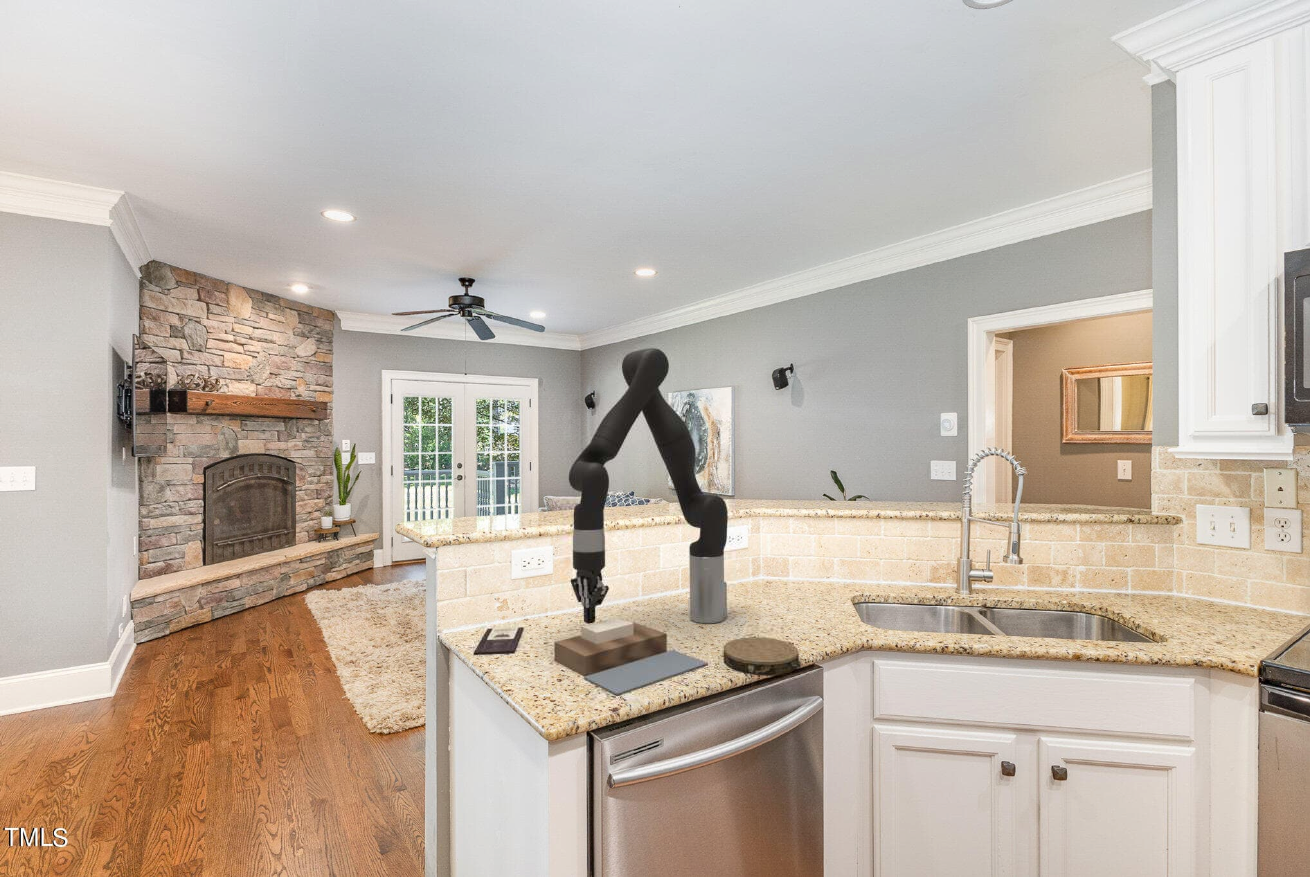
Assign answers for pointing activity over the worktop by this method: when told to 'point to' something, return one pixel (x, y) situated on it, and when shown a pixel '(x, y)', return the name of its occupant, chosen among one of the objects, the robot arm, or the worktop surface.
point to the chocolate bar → (499, 641)
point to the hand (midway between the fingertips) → (589, 622)
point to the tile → (606, 630)
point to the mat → (644, 672)
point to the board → (609, 650)
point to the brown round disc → (761, 656)
